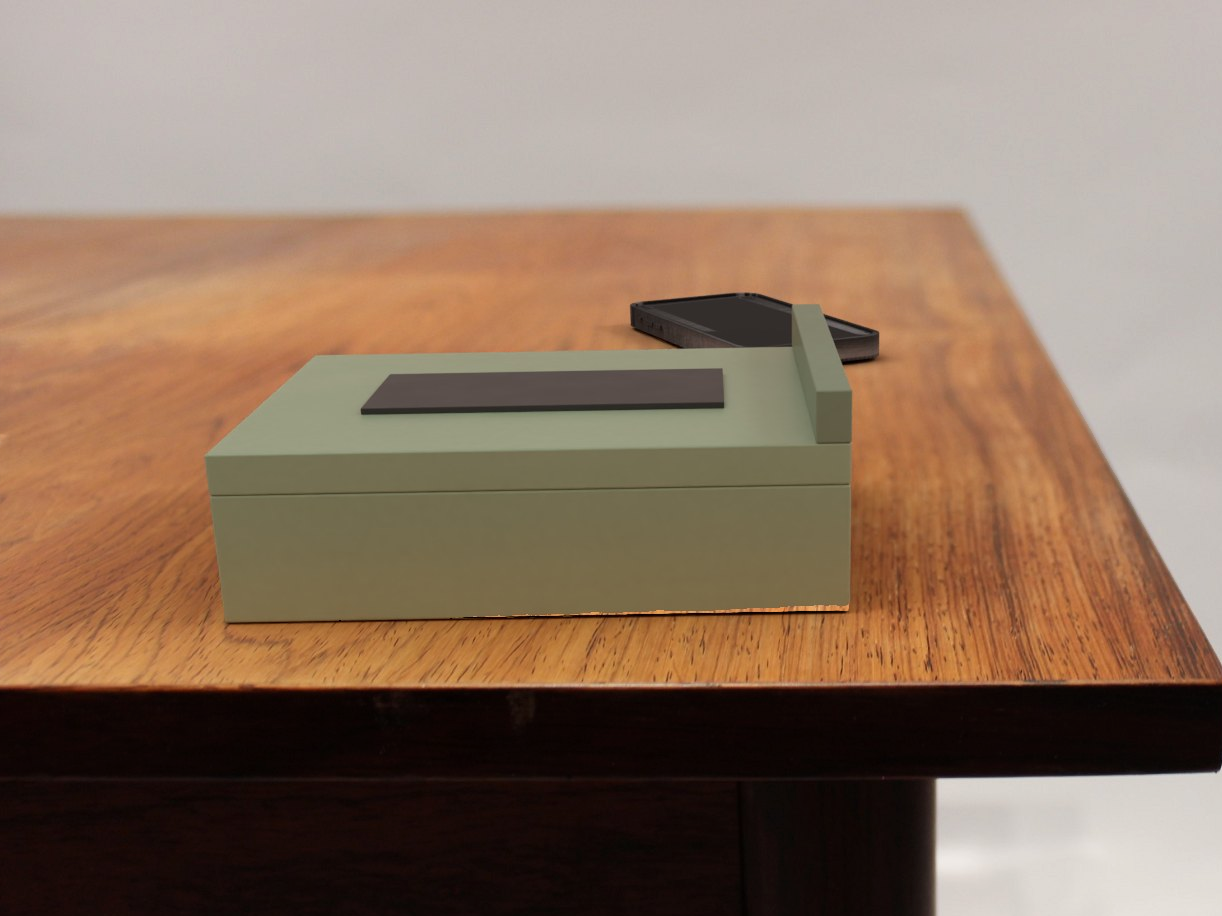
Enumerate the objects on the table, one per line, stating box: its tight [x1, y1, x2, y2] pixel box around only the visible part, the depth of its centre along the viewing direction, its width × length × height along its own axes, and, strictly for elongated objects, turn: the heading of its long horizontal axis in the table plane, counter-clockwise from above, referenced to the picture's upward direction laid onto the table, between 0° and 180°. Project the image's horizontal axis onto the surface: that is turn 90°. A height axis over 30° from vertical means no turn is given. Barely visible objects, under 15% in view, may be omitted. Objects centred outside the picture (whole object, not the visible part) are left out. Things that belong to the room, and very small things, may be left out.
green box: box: [204, 303, 853, 624], centre depth 54 cm, size 18×14×6 cm
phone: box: [629, 291, 880, 363], centre depth 86 cm, size 8×1×15 cm
